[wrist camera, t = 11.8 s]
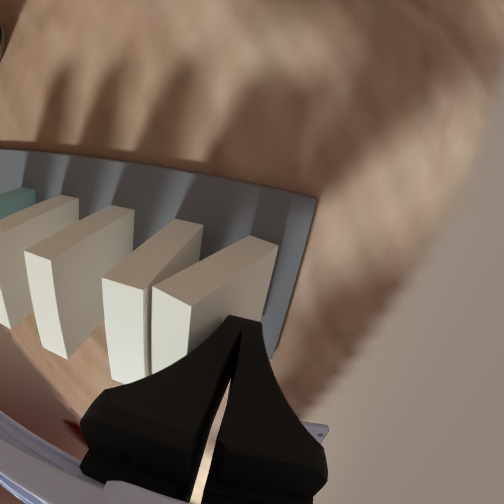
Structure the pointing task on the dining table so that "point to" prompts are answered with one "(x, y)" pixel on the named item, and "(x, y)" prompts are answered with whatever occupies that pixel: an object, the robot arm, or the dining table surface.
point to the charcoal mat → (177, 209)
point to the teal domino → (16, 201)
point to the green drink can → (2, 40)
